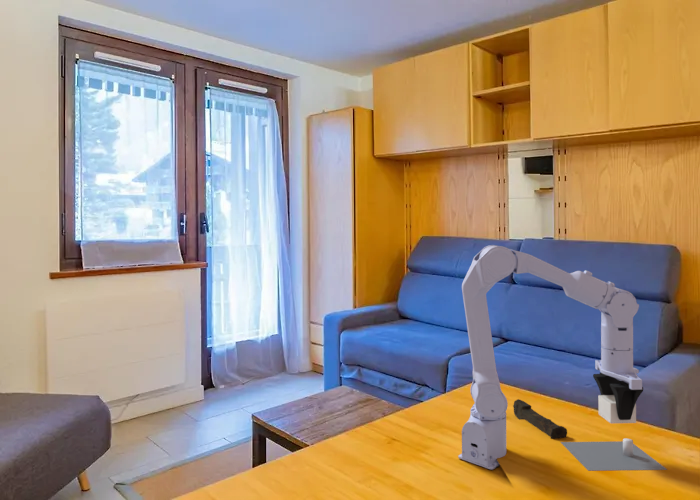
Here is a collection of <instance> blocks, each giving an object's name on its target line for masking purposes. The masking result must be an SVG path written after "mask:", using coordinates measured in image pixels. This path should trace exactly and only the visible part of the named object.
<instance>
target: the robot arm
mask: <svg viewBox="0 0 700 500" xmlns="http://www.w3.org/2000/svg"><path fill="white" fill-rule="evenodd" d="M471 261H472V262H471V265H469V268H468V271H467V272H466V274H465V277H464V279H463V281H462V283H461V291H462V293H461V294H462V300H463V306H464V313H465V320H466V321H465V322H466V329H467V335H468V342H469V350H470V356H471V363H472V364H471V365H472V383H471V385H470V395H471V397H472V399H473V402H474V404H473V405H472V407H471V408H470V414H469V415H470V416H469V417H468V420H467V421H466V422H465V423H464V425H463V426H462V429H461V453H460V454H459V455H457V456H458V459H461V460H463V461H466V462H469V463H471V464H474V465H477V466H480V467H483V468H485V469H488V470H492V471H493V470H494V469H496V468H497V467H499V466H501V464H500V463H499V460H498V459H500V458H503V457H505V456H506V454H507V410H508V403H509V402H508V400H507V397H506V395H505V394H504V392H503V391H502V388H501V383H500V380H499V375H498V372H497V365H496V357H495V351H494V342H493V336H492V328H491V321H490V315H489V314H490V313H489V307H488V299H487V293H488V292H489V291H490V290H491V289H492V288H493V287H494V286H495V285H496V283H498V282H500V281H501V280H503V279H505V278H507V277H508V276H510V275H511V274H512V273H514V274H516V275H518V274H527V273H528V274H530V275H533V276H534V277H535V276H536V277H538V278H541V279H542V280H545V281H547V282H549V283H550V282H551V283H553V284H555V285H558V286H560V287H562V289H563V291H564V294H565V296H566V297H568V298H571V299H572V300H575V301H577V302H579V303H581V304H584V305H586V306H589V307H591V308H594V309H595V310H599V312H601V313H600V314H601V320H600V321H601V324H600V337H601V339H600V340H601V341H600V344H601V345H600V347H601V348H600V353H601V355H600V359H599V360H598V359H595V362H594V363H595V366H594V367H595V370H596V371H599V373H594V374H593V375H592V377H593V379H594V381H595V383H596V385H597V387H598V389H599V393H600V395H614V397H615V401H616V408H617V415H618V418H619V419H620V420H630V419H631V416H632V413H633V409H634V406H635V403H636V404H637V402H638V399H639V397H640V396H641V394H642V393H643V392H644V386H643V379H642V378H640V377H639V376H638V375H637V374H639V373H640V369H637V368H636V367H634V316H635V315H636V314H637V313H638V311H639V309H640V304H639V303H637V298H636V297H635V295H634V294H633V293H631V292H630V291H628V290H625V289H622V288H618V287H616V285H615V282H611V281H607V282H606V281H604V280H601V279H599V278H597V277H595V276H593V272H591V271H589V270H586V269H585V270H584V271H581V270H576V271H574V272H570V273H569V272H568V271H566V270H563V269H561V268H559V267H557V266H556V265H555V266H554V265H552V264H550V262H549V263H548V262H546V261H545V260H543V259H540V258H538V257H536V256H534V255H532V254H529V253H526V252H523V251H519V250H515V249H512V248H508V247H506V246H503V245H496V244H491V245H490V244H489V245H487V246H484V247H483V248H482V249H481V250H480V251H479V252H478V253H477V254H476V255H475V256H473V259H472V260H471Z"/></svg>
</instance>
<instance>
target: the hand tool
mask: <svg viewBox="0 0 700 500" xmlns="http://www.w3.org/2000/svg"><path fill="white" fill-rule="evenodd" d="M512 407H513V414H514V416H515V417H516V418H517V419H518V420H521V421H522V420H525V421H526V422H527V423H529V424H531V425H532V426H534V427H535V428H536V429H538V430H539V431H541V432H542V433H544V434H545V435H547V436H548V437H549V438H550V439H551V440H555V439H556V440H559V439H565V438H567V435H568V429H567V428H566V427H564V426H562V425H559V424H556V423H555V422H554V421H552V419H549V418H546V417H545V416H543V415H542V414H540V413H538V412H536V410H533V409H532V405H530V404H528V403H527V402H526V401H524V400H521V399H519V398H518V399H516V400H514V401H513V405H512Z"/></svg>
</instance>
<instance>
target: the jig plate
mask: <svg viewBox="0 0 700 500" xmlns="http://www.w3.org/2000/svg"><path fill="white" fill-rule="evenodd" d="M560 443H561V445H562V446H564V447H565V449H566V450H567V451H569V453H570V454H571V455H572V456H573V457H574V458H575V459H576V460H577V461H578V462H579V463H580V464H581V465H582V467H584V468H585V469H586V470H587V471H594V472H595V471H597V472H598V471H602V472H604V471H605V472H606V471H663V470H664V471H665V470H667V471H668V468H666V467H665V466H663V465H662V464H661V463H659V461H657V460H656V459H654V458H653V457H652V456H650V455H649V454H647V453H646V452H645V451H644V450H643V449H641V448H640V447H638V446H637V445H636V444H635V443H634V441H633V439H631V438H626V437H625V438H623V439H622V440H621V441H560Z"/></svg>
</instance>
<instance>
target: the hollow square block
mask: <svg viewBox="0 0 700 500" xmlns="http://www.w3.org/2000/svg"><path fill="white" fill-rule="evenodd" d="M597 399H598V400H597V401H598V416H600V417H601V418H603V419H604V420H606V422H608V423H609V424H637V402H636V403H635V406H634V409H633V413H632V416H631V419H630V420H620V419H619V418H618V415H617V408H616V401H615V397H614V395H601V394H598V398H597Z"/></svg>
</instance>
